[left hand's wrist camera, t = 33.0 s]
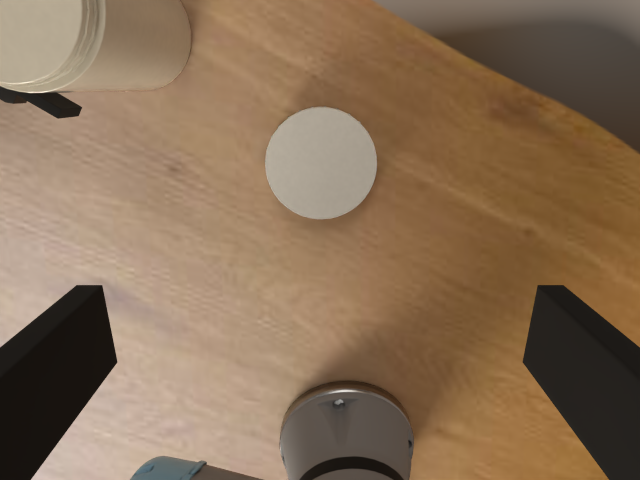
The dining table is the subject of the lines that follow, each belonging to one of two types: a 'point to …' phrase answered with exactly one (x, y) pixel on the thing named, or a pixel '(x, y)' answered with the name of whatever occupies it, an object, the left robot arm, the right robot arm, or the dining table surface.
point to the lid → (321, 163)
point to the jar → (92, 45)
